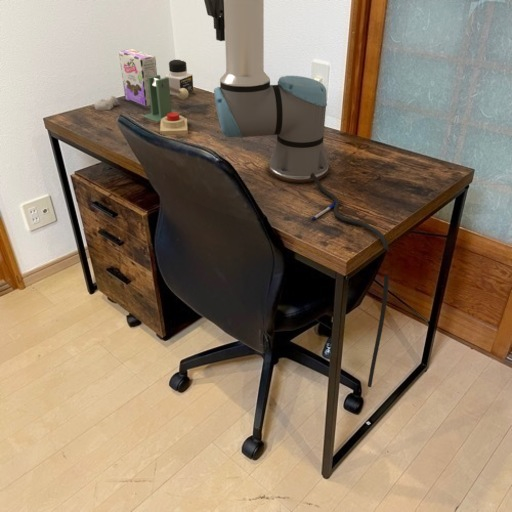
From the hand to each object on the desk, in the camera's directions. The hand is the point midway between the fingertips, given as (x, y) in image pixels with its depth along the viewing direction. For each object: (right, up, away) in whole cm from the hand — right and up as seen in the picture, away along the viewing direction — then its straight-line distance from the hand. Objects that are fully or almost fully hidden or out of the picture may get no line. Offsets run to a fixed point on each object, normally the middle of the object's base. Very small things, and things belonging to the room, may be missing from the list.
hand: (220, 40), depth 164 cm
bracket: (-19, -23, +6) cm, 30 cm away
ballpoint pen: (+27, -57, -45) cm, 78 cm away
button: (-14, -27, -6) cm, 30 cm away
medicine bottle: (-16, -10, +26) cm, 32 cm away
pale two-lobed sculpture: (-38, -19, +12) cm, 44 cm away
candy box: (-28, -14, +18) cm, 37 cm away
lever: (-16, -16, +4) cm, 23 cm away
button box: (-14, -30, -4) cm, 33 cm away
